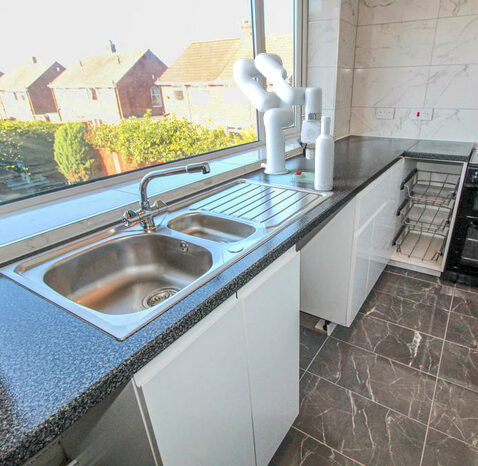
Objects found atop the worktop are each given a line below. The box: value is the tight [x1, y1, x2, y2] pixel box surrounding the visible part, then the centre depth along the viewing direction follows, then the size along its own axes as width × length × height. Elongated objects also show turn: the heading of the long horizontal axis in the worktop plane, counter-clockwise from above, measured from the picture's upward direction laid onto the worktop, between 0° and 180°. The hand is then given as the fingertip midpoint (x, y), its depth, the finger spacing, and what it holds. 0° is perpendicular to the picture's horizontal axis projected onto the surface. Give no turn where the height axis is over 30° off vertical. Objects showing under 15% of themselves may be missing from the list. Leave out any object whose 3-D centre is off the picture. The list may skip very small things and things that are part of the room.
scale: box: [291, 171, 315, 185], centre depth 158 cm, size 17×14×3 cm
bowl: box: [305, 147, 316, 161], centre depth 155 cm, size 6×7×5 cm
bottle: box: [314, 115, 336, 192], centre depth 138 cm, size 8×8×30 cm
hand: (312, 156), depth 155 cm, fingers closed on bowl, 6 cm apart
